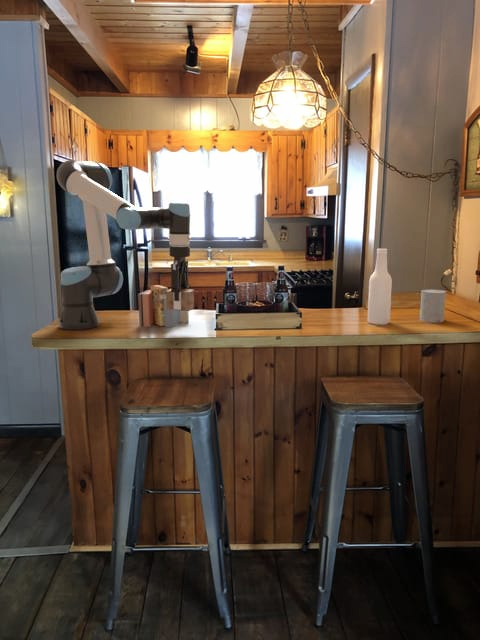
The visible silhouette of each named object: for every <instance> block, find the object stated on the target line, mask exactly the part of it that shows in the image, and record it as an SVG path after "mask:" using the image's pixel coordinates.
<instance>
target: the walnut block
mask: <svg viewBox="0 0 480 640" xmlns="http://www.w3.org/2000/svg"><path fill="white" fill-rule="evenodd" d="M180 292H181V310H182V311H189V312H190V311H192V310H193V309H194V308H195V289H191V288H190V289H181V288H180ZM166 310H177V309H174V298H173V292H171V288H170V289H169V288H168V290H167V291H166Z"/></svg>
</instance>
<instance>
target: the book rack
mask: <svg viewBox="0 0 480 640" xmlns="http://www.w3.org/2000/svg"><path fill="white" fill-rule="evenodd" d="M148 291H151V290H150V289H147V290H145V291H142V292H141V293H137V298H138V300H137V301H138V302H137V303H138V320H139V324H138V325H139V327H144V323H143V301H142V294H143V293H146V292H148ZM189 312H190V311H182V310H179V323H189V322H190V319H189V317H190V315H189Z"/></svg>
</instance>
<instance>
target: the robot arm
mask: <svg viewBox="0 0 480 640" xmlns="http://www.w3.org/2000/svg"><path fill="white" fill-rule="evenodd" d="M56 180H57V182H58V185H59V186H60V187H61V188H62V189H63V190H64V191H65V192H67V193H68V194H70V195H72V196H78V198H79V199H81V201H82V205H83V214H84V221H85V222H84V223H85V231H86V238H87V246H88V247H87V248H88V255H89V256H88V257H89V260H88V262H87V263H86V265H82V266H81V265H79V266H72V267H69V268H68V267H67V268H65V269H64V270H62V271H61V272H60V282H59V283H60V288H61V299H62V300H61V302H62V311H61V314H60V319H59V322H58V323H59V324H58V325H59V328H60V329H62V330H68V331H79V330H88V329H93V328H96V327H99V326H100V322H99V321H100V319H99V317H98V315H97V312H96V310H95V309H96V308H94V307H95V306H94V299H93V298H99V297H104V296H111V295H114V294H116V293H117V292H119V291H120V290H121V289H122V286H123V282H124V276H123V272H122V271H121V268H119V267H118V266H116V261H115V260H113V258H112V255H111V246H110V237H109V227H108V218H107V215H109V216H110V217H111V218H113V219H115V220H116V222H117V223H116V224H118V227H119V228H120V229H123V230H129V231H135V230H148V229H167V230H168V232H169V233H168V243H169V245H170V246H169V248H168V249H169V256H170V257H171V258H173V262H172V263H171V264H170V271H171V274H170V276H171V278H170V280H171V281H170V282H171V285H170V286H171V287H170V289H171V292H173V298H174V309H177V310H181V292H180V289H189V288H190V286H189V260H186V258H188V257H190V255H191V247H190V244H191V240H192V237H191V236H190V235H191V231H190V227H191V211H190V204H189V203H188V202H170V203H169V204H168V207H153V206H152V207H139V206H135V205H133V204H132V203H130V202H129V201H127V200H125V199H124V198H122V197H120V196H118V195H117V194H115V193H114V192H112V191H110V189H112V187H111V186H113V175H112V173H111V170H110V168H108V167H107V166H106V165H105V164H103V163H100V162H97V161H88V160H87V161H86V160H76V159H68V160H66V161H64V162H62V163H61V164H60V165H59V167H58V168H57V170H56Z"/></svg>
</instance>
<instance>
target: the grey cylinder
mask: <svg viewBox="0 0 480 640" xmlns="http://www.w3.org/2000/svg"><path fill="white" fill-rule="evenodd" d="M446 296H447V291H446V290H443V289H433V288H429V289H428V288H426V289H421V293H420V309H419V310H420V311H419V319H418V320H419V321H421V322H426V323H434V324H435V323H436V324H437V323H443V322H444V321H445V307H446Z"/></svg>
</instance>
